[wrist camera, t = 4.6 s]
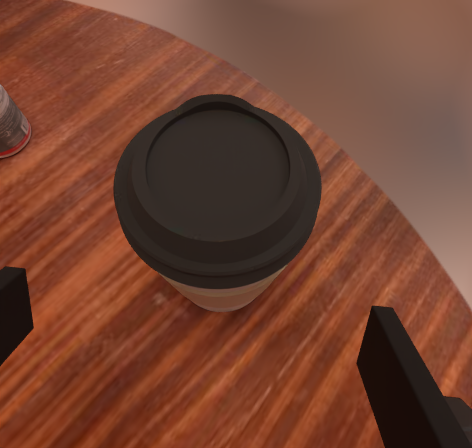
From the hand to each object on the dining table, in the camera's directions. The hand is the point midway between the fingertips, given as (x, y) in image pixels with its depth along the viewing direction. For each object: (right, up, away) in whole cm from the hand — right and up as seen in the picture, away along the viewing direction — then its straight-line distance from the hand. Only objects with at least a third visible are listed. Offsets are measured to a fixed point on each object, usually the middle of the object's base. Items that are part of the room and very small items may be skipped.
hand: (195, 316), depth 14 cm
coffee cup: (+1, 0, +14) cm, 14 cm away
